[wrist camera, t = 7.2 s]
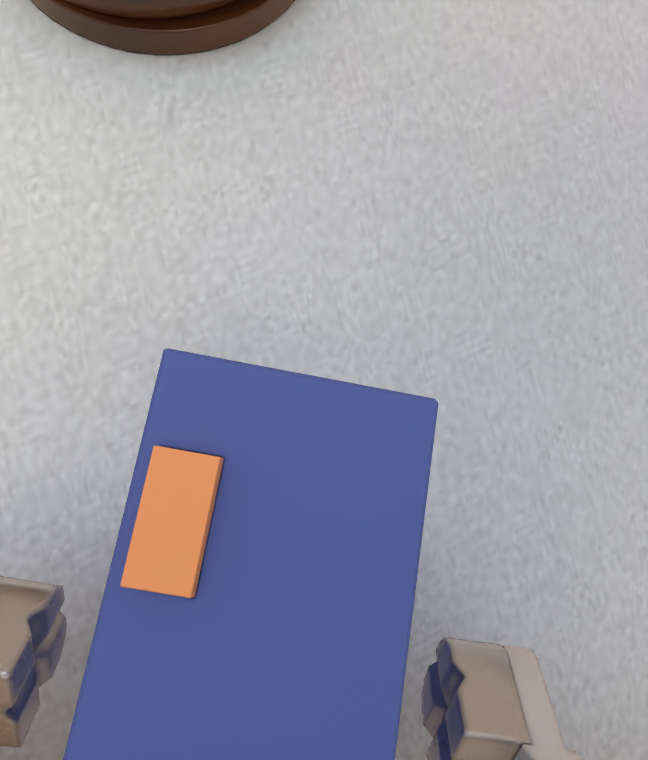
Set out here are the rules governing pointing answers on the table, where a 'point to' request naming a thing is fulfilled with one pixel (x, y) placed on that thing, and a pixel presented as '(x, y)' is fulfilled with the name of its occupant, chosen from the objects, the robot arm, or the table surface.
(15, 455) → the table surface
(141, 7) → the brown round disc
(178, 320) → the table surface
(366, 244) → the table surface
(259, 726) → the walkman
